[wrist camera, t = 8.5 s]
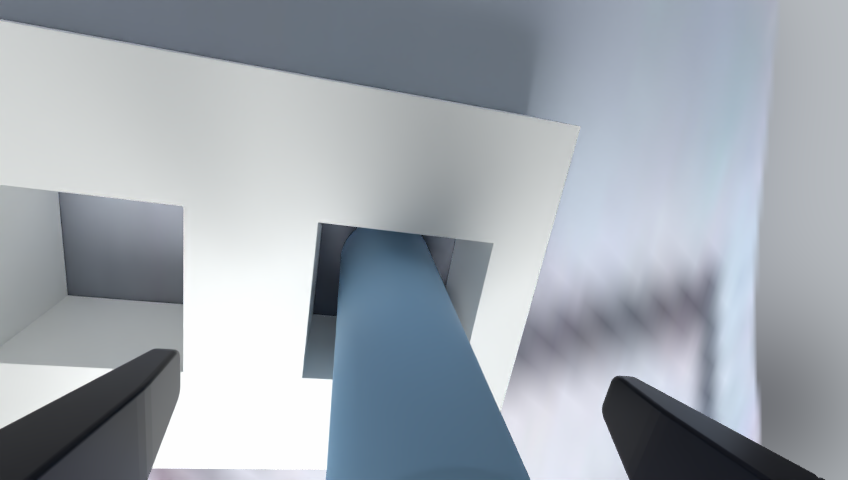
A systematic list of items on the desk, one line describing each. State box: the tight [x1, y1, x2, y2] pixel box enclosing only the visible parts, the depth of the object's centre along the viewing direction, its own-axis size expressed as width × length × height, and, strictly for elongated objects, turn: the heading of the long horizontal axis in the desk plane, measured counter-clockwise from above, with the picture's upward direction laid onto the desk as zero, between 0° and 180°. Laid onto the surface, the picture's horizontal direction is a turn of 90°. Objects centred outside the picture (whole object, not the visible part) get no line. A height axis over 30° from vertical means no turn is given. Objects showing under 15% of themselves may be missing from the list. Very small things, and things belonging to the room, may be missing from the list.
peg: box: [326, 227, 530, 480], centre depth 10 cm, size 3×3×10 cm
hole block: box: [0, 19, 580, 470], centre depth 13 cm, size 15×11×4 cm
